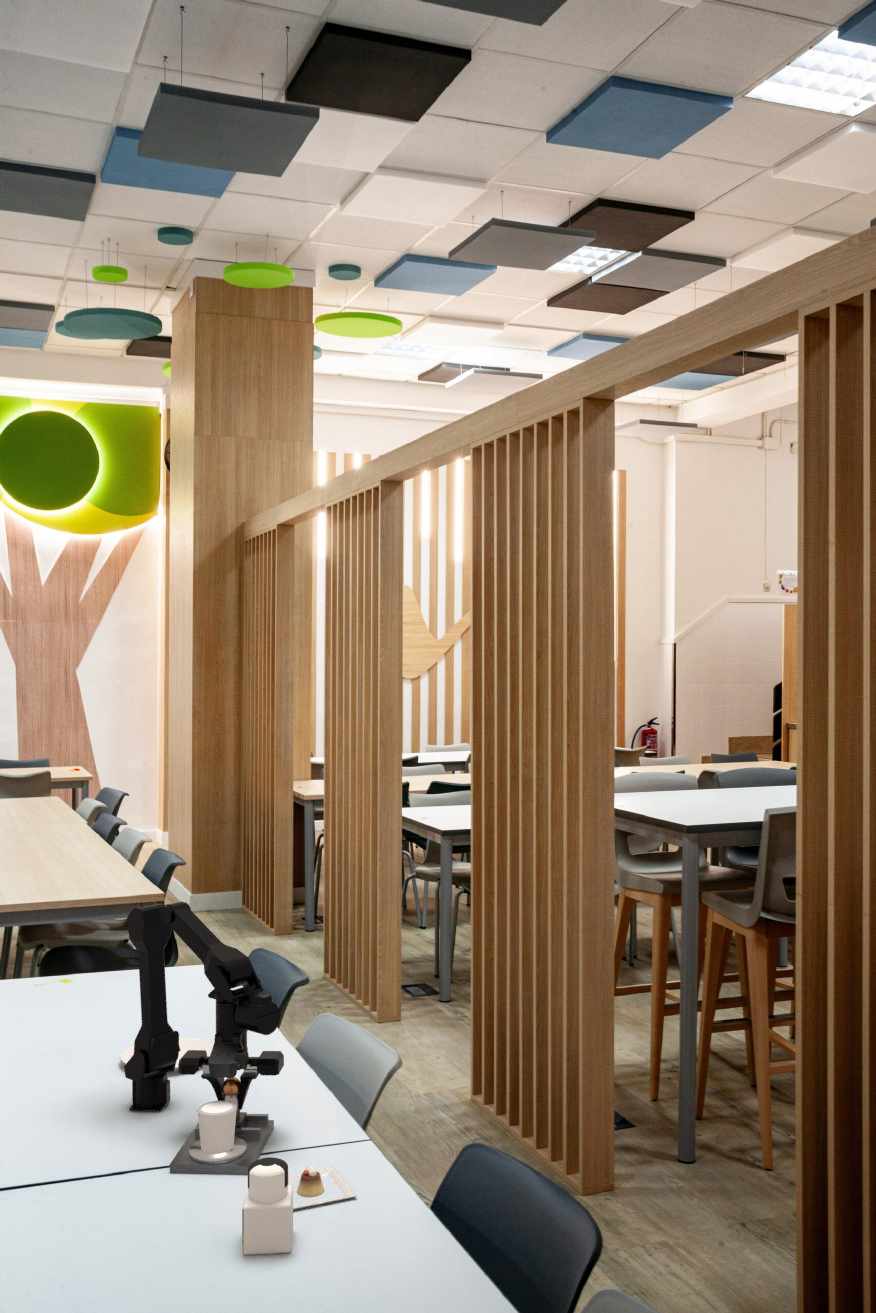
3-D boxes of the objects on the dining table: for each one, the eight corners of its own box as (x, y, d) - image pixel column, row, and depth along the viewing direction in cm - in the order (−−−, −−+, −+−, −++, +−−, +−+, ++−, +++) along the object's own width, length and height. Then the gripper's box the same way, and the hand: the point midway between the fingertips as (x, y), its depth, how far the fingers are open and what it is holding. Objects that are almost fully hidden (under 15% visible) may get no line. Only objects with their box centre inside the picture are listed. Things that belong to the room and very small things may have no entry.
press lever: (217, 1131, 208) (216, 1081, 208) (223, 1120, 213) (223, 1072, 213) (240, 1131, 208) (240, 1082, 208) (246, 1121, 213) (246, 1073, 213)
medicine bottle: (246, 1232, 174) (246, 1153, 174) (293, 1230, 175) (292, 1151, 175) (242, 1255, 167) (242, 1173, 167) (291, 1253, 167) (290, 1171, 168)
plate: (100, 1071, 246) (100, 1061, 246) (158, 1042, 266) (158, 1033, 266) (180, 1084, 238) (180, 1073, 238) (234, 1053, 258) (234, 1043, 258)
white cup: (228, 1156, 196) (227, 1115, 196) (191, 1153, 197) (190, 1112, 198) (243, 1140, 203) (242, 1101, 203) (207, 1137, 204) (206, 1098, 204)
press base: (169, 1172, 195) (169, 1157, 195) (200, 1126, 215) (200, 1112, 215) (250, 1174, 194) (250, 1158, 194) (273, 1127, 214) (273, 1113, 214)
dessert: (265, 1186, 191) (265, 1157, 191) (333, 1173, 196) (333, 1145, 196) (285, 1216, 180) (285, 1186, 180) (357, 1202, 185) (356, 1172, 185)
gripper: (169, 1037, 203) (169, 1125, 203) (272, 1038, 202) (272, 1126, 202) (186, 1019, 215) (186, 1102, 214) (284, 1019, 214) (284, 1103, 213)
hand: (231, 1108), depth 211 cm, fingers closed on press lever, 3 cm apart
